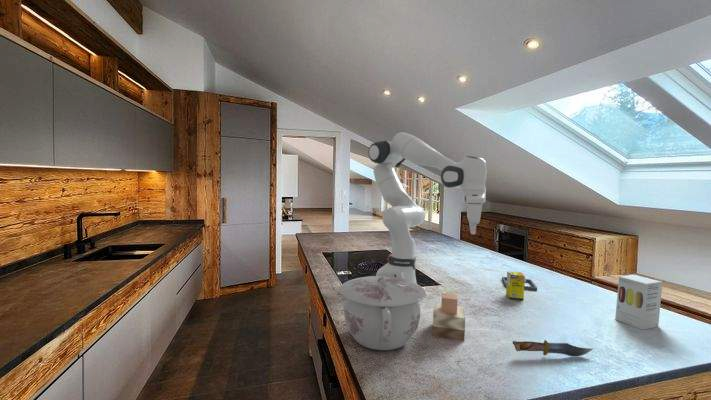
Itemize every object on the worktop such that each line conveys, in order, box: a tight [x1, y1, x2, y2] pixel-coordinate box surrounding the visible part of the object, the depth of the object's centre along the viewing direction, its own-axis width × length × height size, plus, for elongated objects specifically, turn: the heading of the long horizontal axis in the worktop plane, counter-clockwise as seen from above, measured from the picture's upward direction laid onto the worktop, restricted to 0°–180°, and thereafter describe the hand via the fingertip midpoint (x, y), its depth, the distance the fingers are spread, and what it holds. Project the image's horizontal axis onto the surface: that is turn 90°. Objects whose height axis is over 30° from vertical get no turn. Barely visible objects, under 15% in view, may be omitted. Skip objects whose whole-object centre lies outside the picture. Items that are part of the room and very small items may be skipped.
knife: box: [511, 339, 593, 358], centre depth 98 cm, size 25×1×5 cm, turn 92°
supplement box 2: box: [614, 274, 663, 331], centre depth 122 cm, size 10×9×17 cm
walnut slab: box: [432, 325, 466, 342], centre depth 113 cm, size 10×10×4 cm
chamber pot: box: [339, 275, 427, 351], centre depth 106 cm, size 28×28×21 cm
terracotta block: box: [441, 292, 458, 314], centre depth 112 cm, size 5×5×5 cm
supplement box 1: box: [505, 270, 526, 301], centre depth 146 cm, size 6×6×11 cm
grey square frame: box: [501, 276, 538, 291], centre depth 164 cm, size 14×14×2 cm
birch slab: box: [432, 303, 466, 330], centre depth 112 cm, size 10×10×4 cm
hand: (472, 232), depth 131 cm, fingers open, 8 cm apart
